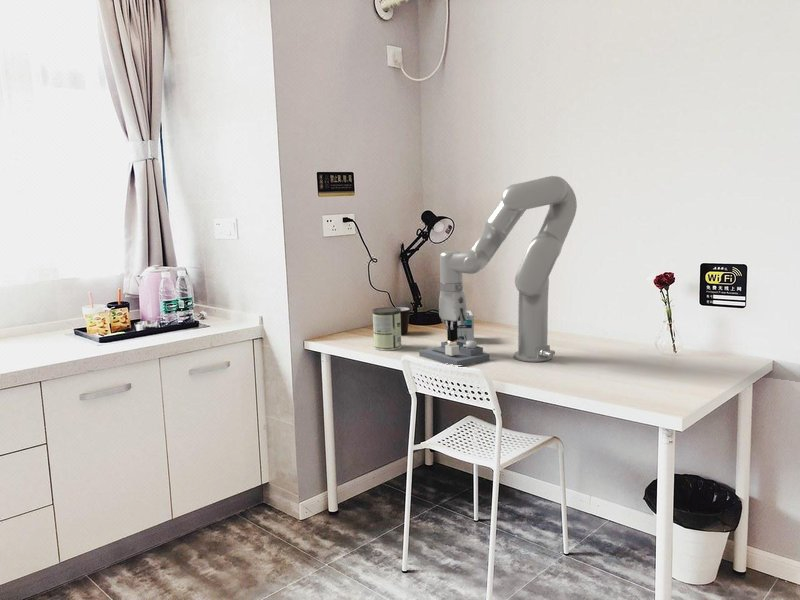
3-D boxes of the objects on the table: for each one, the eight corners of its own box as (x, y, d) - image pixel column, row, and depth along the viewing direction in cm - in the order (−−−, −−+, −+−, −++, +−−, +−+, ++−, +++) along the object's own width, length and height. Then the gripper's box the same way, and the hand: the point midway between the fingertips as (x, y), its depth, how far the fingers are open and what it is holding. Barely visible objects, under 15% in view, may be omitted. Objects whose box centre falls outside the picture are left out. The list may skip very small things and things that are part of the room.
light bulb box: (474, 343, 247) (474, 315, 245) (456, 344, 247) (455, 315, 246) (471, 337, 258) (471, 310, 256) (454, 338, 258) (453, 310, 256)
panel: (489, 360, 222) (489, 348, 222) (457, 367, 214) (456, 355, 214) (450, 349, 239) (450, 338, 238) (419, 355, 231) (419, 344, 230)
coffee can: (374, 344, 250) (373, 307, 248) (401, 344, 250) (401, 306, 247) (372, 351, 240) (371, 312, 238) (401, 350, 239) (400, 311, 237)
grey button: (479, 349, 224) (479, 341, 223) (470, 350, 221) (470, 343, 221) (471, 347, 226) (471, 339, 226) (463, 349, 224) (463, 341, 224)
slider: (459, 354, 221) (458, 343, 220) (451, 355, 219) (451, 344, 219) (452, 352, 224) (452, 341, 223) (445, 354, 222) (445, 342, 221)
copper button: (459, 347, 232) (459, 340, 231) (451, 349, 230) (451, 342, 229) (452, 346, 235) (452, 338, 234) (444, 347, 233) (444, 340, 232)
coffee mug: (393, 331, 274) (392, 307, 272) (413, 332, 271) (412, 307, 269) (382, 337, 263) (382, 311, 261) (403, 338, 260) (402, 312, 258)
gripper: (474, 288, 225) (475, 342, 228) (446, 284, 237) (447, 335, 240) (457, 290, 221) (458, 345, 224) (429, 286, 233) (430, 338, 236)
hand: (452, 340), depth 232 cm, fingers closed
